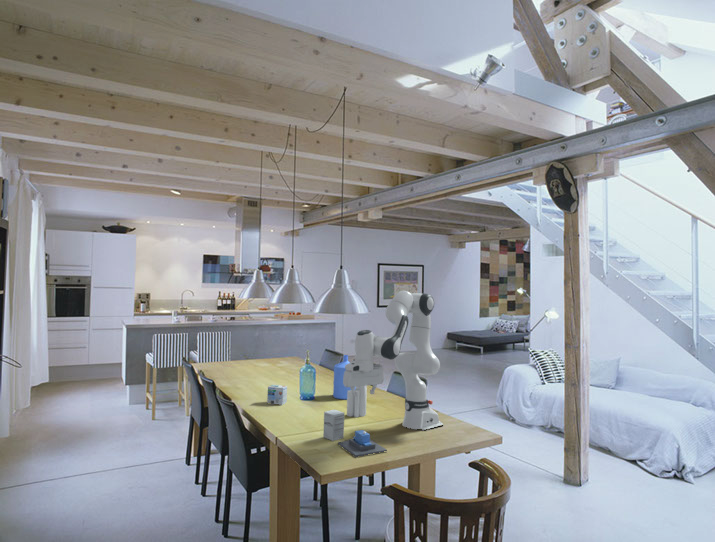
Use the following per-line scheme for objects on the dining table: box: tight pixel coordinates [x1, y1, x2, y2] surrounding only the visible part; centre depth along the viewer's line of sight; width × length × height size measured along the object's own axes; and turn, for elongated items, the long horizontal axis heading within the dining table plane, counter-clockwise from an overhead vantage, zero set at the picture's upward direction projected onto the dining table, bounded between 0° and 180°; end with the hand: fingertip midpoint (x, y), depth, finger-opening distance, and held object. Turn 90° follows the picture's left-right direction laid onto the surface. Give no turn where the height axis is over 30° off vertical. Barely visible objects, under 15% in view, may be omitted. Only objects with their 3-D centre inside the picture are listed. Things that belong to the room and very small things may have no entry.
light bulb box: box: [266, 384, 288, 406], centre depth 282 cm, size 11×7×11 cm, turn 76°
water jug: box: [332, 354, 356, 400], centre depth 303 cm, size 16×16×28 cm
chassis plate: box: [337, 438, 388, 458], centre depth 207 cm, size 16×18×3 cm
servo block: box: [352, 429, 372, 446], centre depth 207 cm, size 4×12×7 cm, turn 28°
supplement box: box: [322, 409, 345, 442], centre depth 220 cm, size 7×7×13 cm
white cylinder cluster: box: [346, 385, 368, 418], centre depth 260 cm, size 11×7×20 cm, turn 116°
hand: (363, 394), depth 210 cm, fingers open, 8 cm apart
